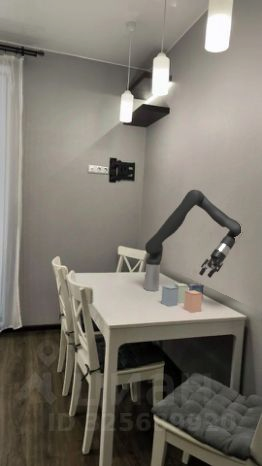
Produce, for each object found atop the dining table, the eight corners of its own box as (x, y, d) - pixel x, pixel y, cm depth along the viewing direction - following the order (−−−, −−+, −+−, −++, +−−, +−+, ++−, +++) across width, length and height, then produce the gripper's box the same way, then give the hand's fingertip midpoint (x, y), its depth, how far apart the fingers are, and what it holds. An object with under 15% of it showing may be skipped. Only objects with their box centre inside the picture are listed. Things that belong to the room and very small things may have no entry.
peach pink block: (183, 309, 174) (185, 291, 173) (193, 308, 177) (194, 290, 176) (191, 312, 169) (192, 294, 168) (200, 311, 172) (202, 293, 171)
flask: (189, 299, 194) (190, 282, 193) (187, 298, 197) (188, 281, 196) (203, 299, 196) (204, 282, 196) (201, 298, 199) (202, 281, 199)
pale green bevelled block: (173, 299, 191) (174, 283, 190) (183, 299, 193) (184, 283, 192) (177, 303, 185) (178, 286, 184) (187, 303, 186) (188, 286, 186)
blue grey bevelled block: (161, 303, 182) (162, 286, 181) (169, 302, 186) (170, 285, 185) (169, 306, 177) (170, 288, 176) (177, 305, 181) (178, 287, 180)
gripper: (209, 248, 186) (193, 270, 183) (223, 249, 173) (207, 273, 169) (217, 256, 188) (201, 278, 185) (232, 258, 175) (216, 281, 171)
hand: (204, 275), depth 177 cm, fingers open, 8 cm apart
